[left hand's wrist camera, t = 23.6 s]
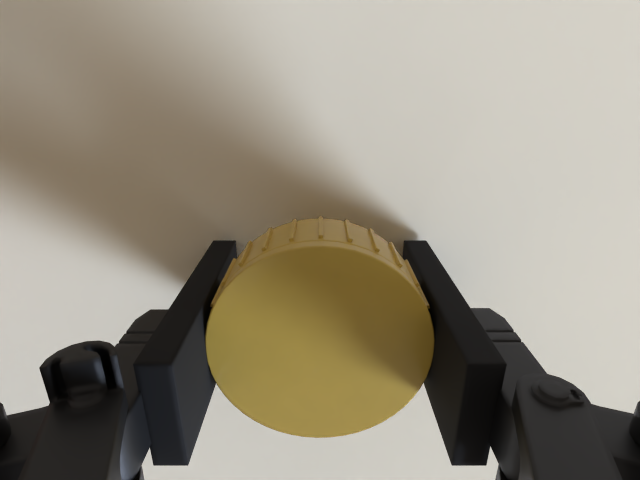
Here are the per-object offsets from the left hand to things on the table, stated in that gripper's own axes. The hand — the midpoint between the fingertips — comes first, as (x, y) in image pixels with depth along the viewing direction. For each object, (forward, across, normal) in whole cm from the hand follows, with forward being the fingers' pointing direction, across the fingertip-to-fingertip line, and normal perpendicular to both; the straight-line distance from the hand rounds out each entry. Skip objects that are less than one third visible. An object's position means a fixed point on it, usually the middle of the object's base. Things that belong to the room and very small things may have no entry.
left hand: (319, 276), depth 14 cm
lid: (-4, 0, 0) cm, 4 cm away
